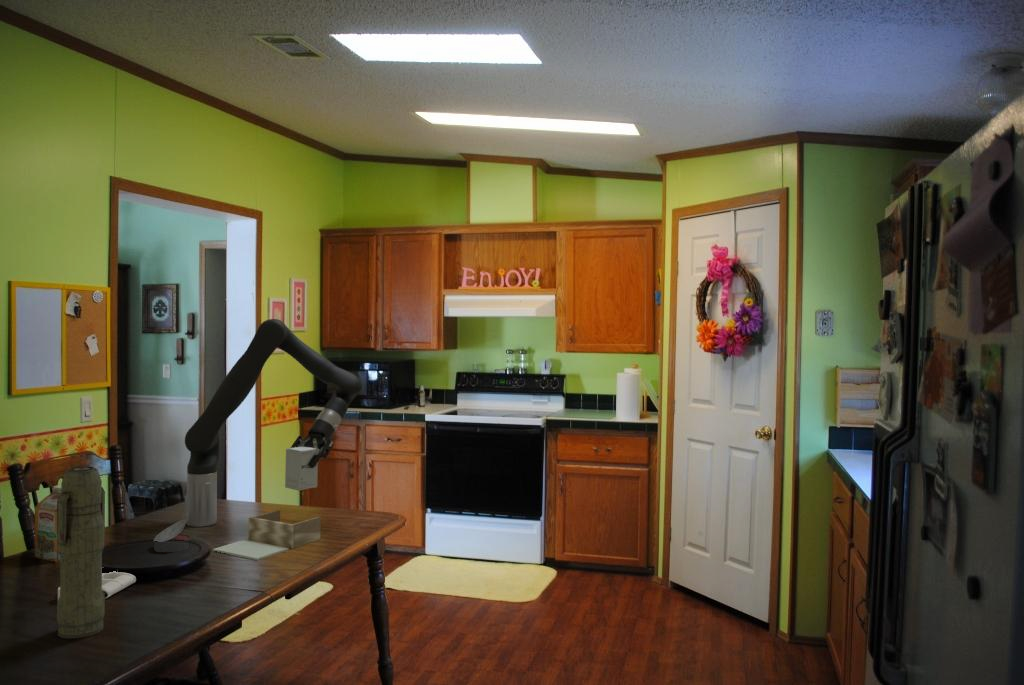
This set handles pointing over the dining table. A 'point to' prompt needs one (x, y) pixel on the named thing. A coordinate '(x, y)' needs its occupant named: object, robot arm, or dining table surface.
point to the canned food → (172, 532)
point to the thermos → (80, 553)
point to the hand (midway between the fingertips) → (300, 465)
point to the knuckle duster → (114, 582)
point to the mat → (251, 549)
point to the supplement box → (300, 468)
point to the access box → (283, 530)
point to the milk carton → (47, 527)
